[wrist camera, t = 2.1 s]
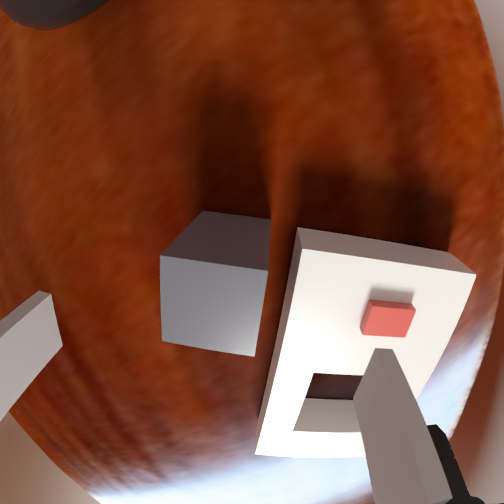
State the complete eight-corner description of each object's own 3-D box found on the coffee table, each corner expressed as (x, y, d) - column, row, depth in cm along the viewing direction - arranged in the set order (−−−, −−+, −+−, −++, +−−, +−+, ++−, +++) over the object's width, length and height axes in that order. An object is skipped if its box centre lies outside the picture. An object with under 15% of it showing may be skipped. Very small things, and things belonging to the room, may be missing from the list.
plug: (202, 210, 20) (160, 255, 12) (270, 219, 20) (268, 270, 12) (198, 272, 21) (162, 340, 14) (261, 281, 21) (254, 356, 14)
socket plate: (297, 227, 20) (303, 254, 15) (449, 252, 19) (482, 279, 15) (257, 422, 27) (254, 460, 23) (369, 426, 27) (377, 462, 22)
